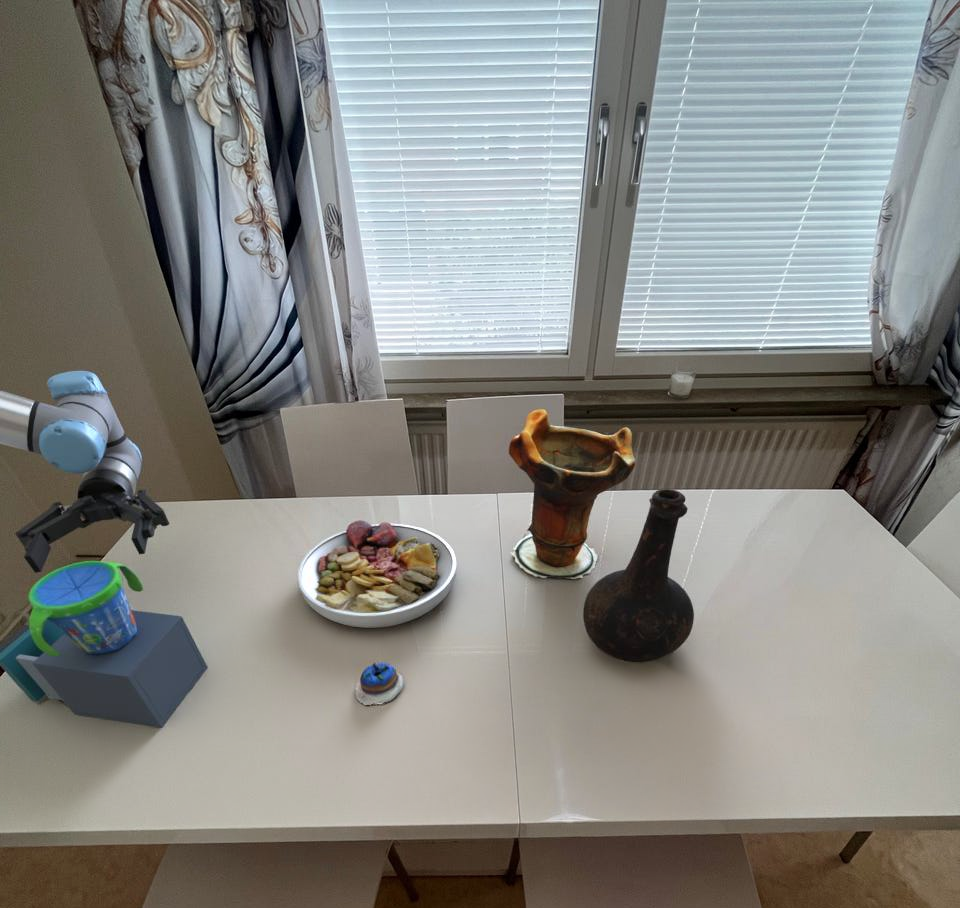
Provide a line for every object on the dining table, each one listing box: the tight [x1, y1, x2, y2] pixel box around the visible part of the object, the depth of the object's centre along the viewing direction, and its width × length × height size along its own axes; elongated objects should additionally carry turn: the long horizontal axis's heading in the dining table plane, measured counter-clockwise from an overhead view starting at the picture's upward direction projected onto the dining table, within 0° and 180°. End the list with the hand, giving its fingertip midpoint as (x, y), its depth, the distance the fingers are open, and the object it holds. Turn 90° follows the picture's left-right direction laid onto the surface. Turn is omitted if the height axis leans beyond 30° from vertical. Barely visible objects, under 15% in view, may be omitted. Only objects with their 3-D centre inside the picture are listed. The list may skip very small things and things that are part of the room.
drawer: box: [0, 619, 64, 703], centre depth 83 cm, size 20×12×9 cm, turn 80°
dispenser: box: [32, 609, 209, 729], centre depth 81 cm, size 15×13×11 cm
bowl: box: [296, 519, 457, 629], centre depth 102 cm, size 30×30×8 cm
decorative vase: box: [508, 408, 637, 580], centre depth 103 cm, size 21×23×28 cm
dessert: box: [354, 662, 404, 706], centre depth 85 cm, size 8×7×6 cm
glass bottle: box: [582, 488, 695, 664], centre depth 84 cm, size 18×18×28 cm
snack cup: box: [27, 560, 144, 657], centre depth 74 cm, size 16×10×10 cm
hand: (86, 555), depth 77 cm, fingers open, 13 cm apart
